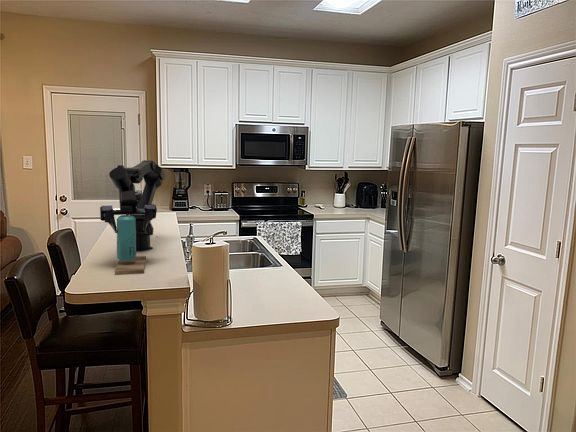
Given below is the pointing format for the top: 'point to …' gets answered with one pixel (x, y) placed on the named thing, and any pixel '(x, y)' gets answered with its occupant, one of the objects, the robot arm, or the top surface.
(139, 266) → the walnut board
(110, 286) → the top surface
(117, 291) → the top surface
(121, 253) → the beverage bottle
